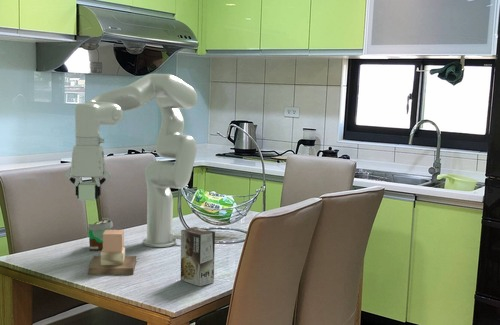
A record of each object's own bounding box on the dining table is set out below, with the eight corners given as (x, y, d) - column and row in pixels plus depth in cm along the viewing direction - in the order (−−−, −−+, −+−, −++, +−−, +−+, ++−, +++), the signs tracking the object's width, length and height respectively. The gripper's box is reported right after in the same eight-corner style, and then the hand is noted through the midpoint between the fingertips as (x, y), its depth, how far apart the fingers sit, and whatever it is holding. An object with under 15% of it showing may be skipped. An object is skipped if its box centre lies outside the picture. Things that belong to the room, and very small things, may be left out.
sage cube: (97, 197, 199) (97, 182, 198) (94, 200, 194) (94, 185, 193) (81, 197, 198) (81, 182, 198) (78, 200, 193) (78, 184, 193)
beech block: (124, 258, 202) (125, 247, 201) (123, 265, 195) (123, 252, 194) (103, 258, 201) (103, 247, 200) (100, 265, 194) (100, 252, 194)
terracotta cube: (123, 247, 201) (123, 229, 200) (121, 252, 195) (122, 234, 194) (105, 247, 200) (105, 229, 199) (102, 252, 194) (102, 234, 193)
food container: (104, 253, 214) (104, 225, 213) (87, 251, 216) (87, 224, 214) (118, 244, 226) (118, 218, 225) (103, 243, 228) (103, 217, 226)
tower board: (136, 261, 206) (136, 255, 206) (133, 274, 192) (133, 268, 192) (94, 261, 204) (94, 255, 204) (87, 274, 190) (87, 268, 190)
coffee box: (214, 282, 187) (216, 231, 185) (199, 287, 182) (200, 234, 180) (194, 275, 193) (195, 226, 191) (179, 280, 188) (180, 229, 186)
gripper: (116, 141, 198) (116, 195, 201) (63, 140, 197) (63, 195, 199) (113, 143, 191) (113, 200, 193) (57, 142, 189) (58, 199, 192)
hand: (88, 197), depth 196 cm, fingers closed on sage cube, 4 cm apart
